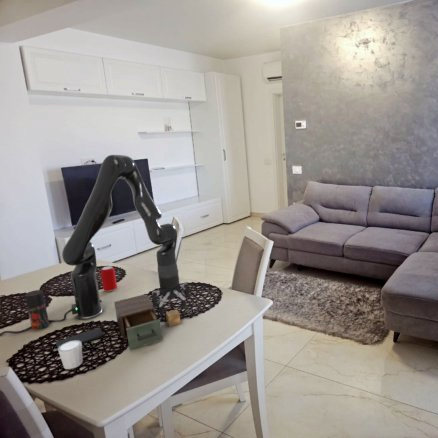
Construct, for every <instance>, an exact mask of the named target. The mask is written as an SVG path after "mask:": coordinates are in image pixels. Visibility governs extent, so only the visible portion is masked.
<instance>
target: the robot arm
mask: <svg viewBox="0 0 438 438" xmlns="http://www.w3.org/2000/svg"><path fill="white" fill-rule="evenodd" d="M118 180H124V181H125V182H126V183H127V184H128V187H130V189H131V192H132V200H133V205H134V207H135V210H136V212H137V213H138V214H139V216H140V218H141V219H142V221H143V223H144V226H145V229H146V234H147V236H148V239H149V240H150V242H151V243H153V245H156V246H160V248H159V249H158V250H157V251H156V256H155V257H156V262H157V263H156V264H157V276H158V284H159V290H152V291H151V299H152V301H151V302H152V303H153V305H154V307H155V308H156V307H158V313H159V314H160V315H161V316H164V315H165V312H164V306H163V305H164V303H166V301H167V300H170V299H172V298H174V299H175V298H176V297H178V298H179V299H180V303H181V308H182V309H183V310H184V309H186V307H187V301H186V300H188V299H189V298H190V297H191V294H190V289H189V284H188V283H187V282H183V284H180V275H179V268H178V264H177V257H176V249H177V242H178V231H177V229H176V227H175V225H173V224H172V223H163V224H161V225H160V224H159V222H158V221H160V220H161V219H162V213H161V210H160V209H159V207H158V205H157V204H156V203H155V201H154V200H153V198H152V197H151V194H150V193H149V190H148V189H147V187H146V185H145V183H144V180H143V177H142V175H141V173H140V171H139V169H138V167H137V163H136V162H135V161H134V159H133V158H132V157H130V156H129V155H123V154H109V155H107V156H106V157H105V158H104V159H103V160H102V163H101V166H100V169H99V171H98V175H97V177H96V181H95V184H94V186H93V188H92V191H91V193H90V196H89V198H88V200H87V202H86V203H85V206H84V208H83V210H82V213H81V215H80V217H79V219H78V221H77V223H76V226H75V228H74V231H73V232H72V234H71V235H70V237H69V239H68V241H67V242H66V243H65V245H64V247H63V249H62V252H61V258H62V260H63V262H64V263H65V264H66V265H68V266H74V268H73V270H72V271H71V272H70V279H71V285H72V290H73V295H74V302H75V303H73V304H71V309H69V310H68V311H66V312H65V313H64V315H63V318H62V319H59V320H55V319H48V320H49V323H57V322H64V321H65V320H66V319H67V315H68V314H70V313H72V316H73V315H77V319H78V320H79V321H80V320H89V319H93V318H96V317H98V316H100V315H101V314H102V313H103V309H102V308H103V307H102V303H103V301H102V300H101V297H100V291H99V284H98V278H97V267H98V266H97V265H98V264H97V255H96V249H95V246H94V244H93V243H92V242H91V240H92V239H93V238H94V237H95V236H96V234H97V233H98V232H99V231H100V230H101V229H102V228H103V226H104V225H105V224H106V223H107V221H108V219H109V217H110V214H111V212H112V210H113V199H112V191H113V189H114V186H115V185H116V183H117V181H118ZM182 289H183V291H184V294H182V293H181V292H180V291H181V290H182ZM159 295H160V297H159ZM158 297H159V300H158ZM30 329H31V330H32V327H31V326H28V327H27V328H24V329H21V330H16V331H14V330H4V331H2V332H0V337H2V335H4V334H20V333H23V332H26V331H29V330H30Z"/></svg>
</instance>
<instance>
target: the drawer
mask: <svg viewBox="0 0 438 438" xmlns="http://www.w3.org/2000/svg"><path fill="white" fill-rule="evenodd" d="M123 321H124V328H125V332H126V335H127V338H128V339H127V343H128V349H129V350H133V349H137V348H139V347H143V346H145V345H149V344H152V343H155V342H159V341H162V340H163V330H162V323H161V319H160V318H158V319H157V316H156V317H155V315H154V313H153V312H152V310H150V311H147V312H143V313H139V314H136V315H132V316H128V317H125V318H123Z"/></svg>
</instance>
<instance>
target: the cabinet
mask: <svg viewBox="0 0 438 438" xmlns="http://www.w3.org/2000/svg"><path fill="white" fill-rule="evenodd" d="M113 303H114V311H115V316H116V317H115V318H116V323H117V326H118V329H119V331H120V334H121V337H122V339H123V340H128V338H127V335H126V332H125V328H124V321H123V318H125V317H128V316H132V315H136V314H139V313H143V312H147V311H150V310H152V312H153V313H154V315H155V317H156V318H157V310H156V307H154V305H153V301H151V299H150V297H149V295H148V294H147V293H145V294H141V295H136V296H134V297H129V298H124V299H120V300H116V301H114V302H113Z"/></svg>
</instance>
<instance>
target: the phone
mask: <svg viewBox="0 0 438 438" xmlns="http://www.w3.org/2000/svg"><path fill="white" fill-rule="evenodd" d="M102 337H104V331H102V329H101V328H100V327H96V328H93V329H90V330H87V331H84V332H81V333H78V334H75V335H72V336H69V337H66V338H62V339H60V340H57V341H56V342H55V345H56V348H57V349H58V348H59V346H61V345H62V344H64V343H66V342H69V341H74V340H79V341H81V343H82V344H85V343H87V342H91V341H93V340H97V339H100V338H102Z"/></svg>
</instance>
